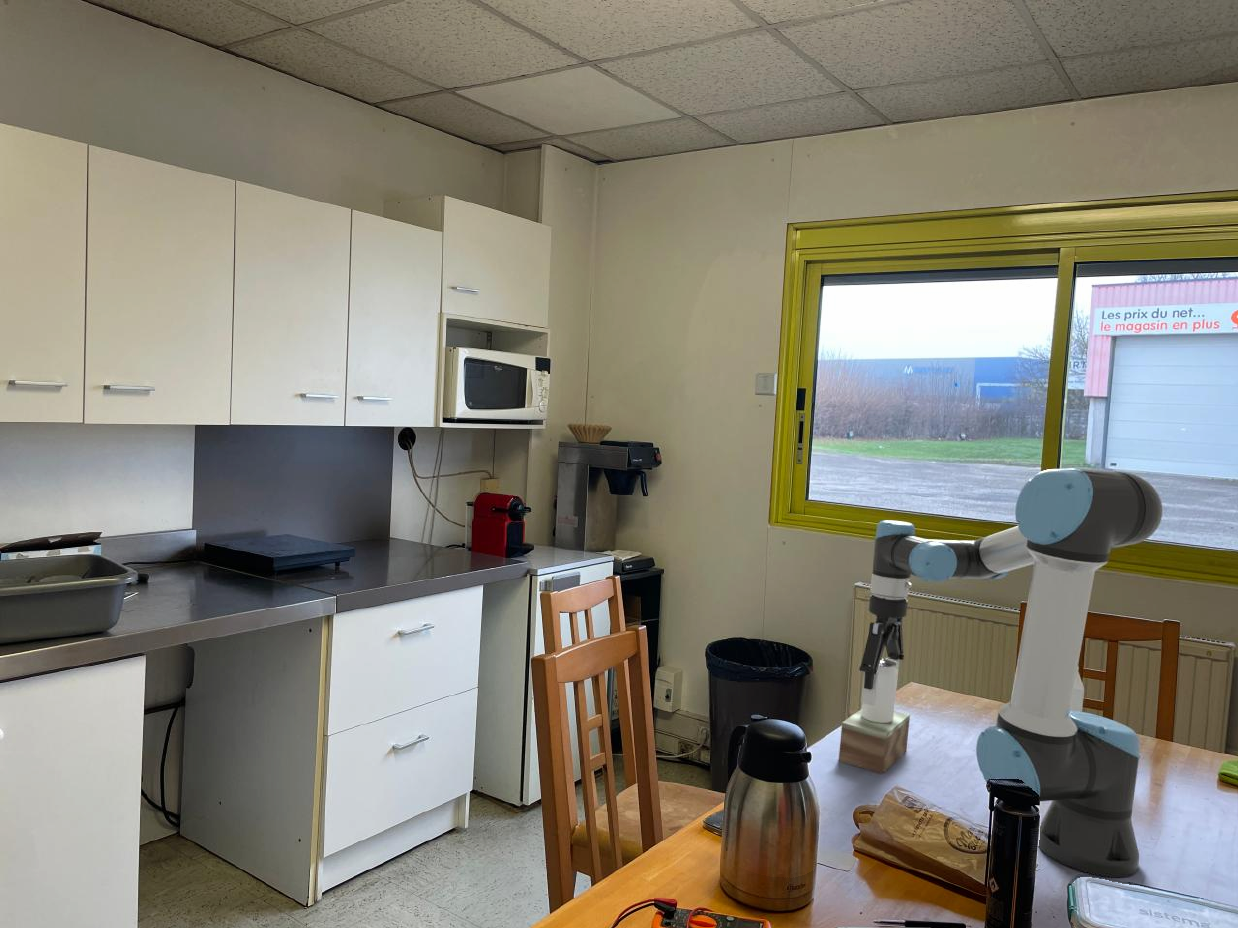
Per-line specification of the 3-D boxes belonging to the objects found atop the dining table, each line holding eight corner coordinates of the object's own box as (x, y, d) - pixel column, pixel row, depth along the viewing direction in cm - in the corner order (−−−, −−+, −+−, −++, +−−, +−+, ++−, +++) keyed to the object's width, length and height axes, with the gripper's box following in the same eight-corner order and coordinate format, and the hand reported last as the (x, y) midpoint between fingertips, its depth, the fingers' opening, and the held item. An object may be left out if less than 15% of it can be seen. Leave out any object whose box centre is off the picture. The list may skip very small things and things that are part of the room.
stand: (881, 773, 179) (885, 734, 178) (838, 760, 184) (842, 722, 183) (906, 751, 192) (910, 714, 191) (865, 739, 197) (868, 703, 196)
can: (889, 714, 190) (895, 659, 189) (895, 725, 184) (901, 668, 183) (858, 711, 191) (863, 656, 190) (863, 722, 184) (869, 665, 183)
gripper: (887, 608, 173) (877, 715, 174) (924, 591, 194) (915, 687, 195) (849, 600, 177) (839, 705, 179) (890, 584, 198) (881, 679, 199)
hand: (879, 696), depth 187 cm, fingers open, 13 cm apart
